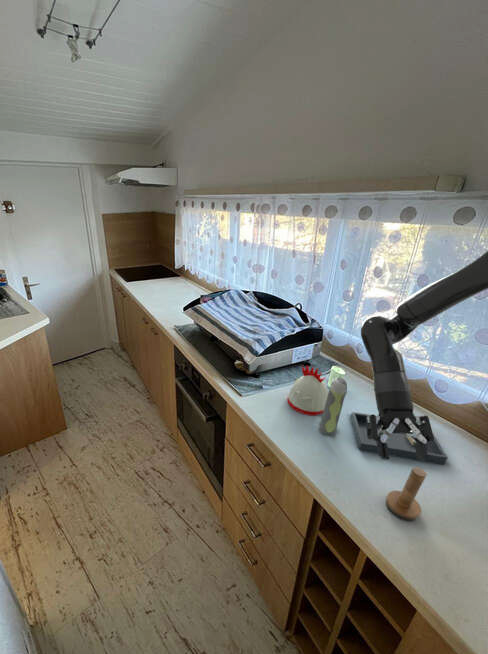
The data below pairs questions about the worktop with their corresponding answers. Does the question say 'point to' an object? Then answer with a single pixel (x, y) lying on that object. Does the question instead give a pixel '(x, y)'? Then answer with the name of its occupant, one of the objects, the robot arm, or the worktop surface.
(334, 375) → the light green cylinder
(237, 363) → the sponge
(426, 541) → the worktop surface
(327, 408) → the grey green rod
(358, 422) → the tray
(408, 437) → the cream flat block
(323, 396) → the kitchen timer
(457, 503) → the worktop surface
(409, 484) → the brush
